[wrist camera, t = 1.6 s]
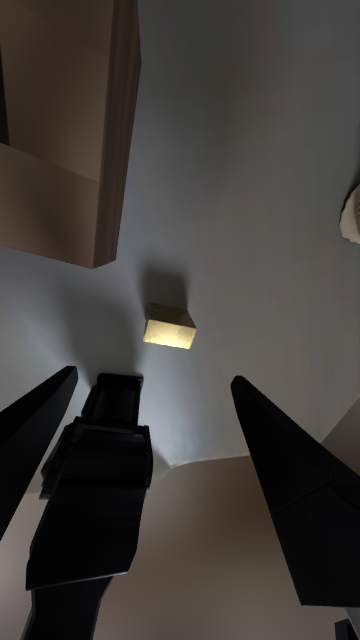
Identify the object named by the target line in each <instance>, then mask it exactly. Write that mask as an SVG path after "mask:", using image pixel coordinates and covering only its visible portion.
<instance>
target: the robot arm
mask: <svg viewBox="0 0 360 640" xmlns="http://www.w3.org/2000/svg"><path fill="white" fill-rule="evenodd" d="M143 381H144V379H143V378H142V377H133V376H124V375H114V374H104V373H100V374H99V375H98V377H97V384H96V385H94V386H92V388H91V391H90V393H89V395H88V397H87V400H86V402H85V404H84V407H83V409H82V411H81V417H79V416H76V417H75V419H74V421H73V423H70V424H69V425H66V426H65V427H64V430H63V432H62V434H61V436H60V438H59V440H58V442H57V443H56V445H55V447H54V448H53V450H52V452H51V454H50V455H49V457H48V459H47V460H46V462H45V464H44V465H43V468H42V470H41V475H42V478H43V483H42V486H41V487H43V489H42V491H41V494H40V497H39V499H49V500H48V502H47V505H46V507H45V510H44V512H43V515H42V518H41V520H40V522H39V525H38V528H37V530H36V532H35V535H34V537H33V540H32V542H31V546H30V558H29V560H28V563H27V568H26V591H29V590H31V594H32V607H31V610H30V613H29V616H28V619H27V622H26V625H25V628H24V630H23V633H22V636H21V639H20V640H92V639H93V635H94V630H95V625H96V621H97V616H98V611H99V607H100V603H101V599H102V597H103V596H104V594H105V592H106V590H107V588H108V586H109V584H110V583H111V581H112V579H113V577H114V576H115V575H120V574H125V573H127V572H128V570H129V568H130V565H131V563H132V561H133V558H134V556H135V553H136V550H137V543H138V535H139V527H140V520H141V513H142V508H143V503H144V498H145V496H146V495H147V493H148V490H149V487H150V484H151V479H152V472H153V453H152V446H151V439H150V432H149V426H146V425H144V426H140V425H138V415H139V404H140V393H141V389H142V385H143ZM77 382H78V372H77V367H76V366H66V367H64V368H63V369H61V370H60V371H59V372H57V373H56V374H54V375H53V376H51V377H50V378H49V379H47V380H46V381H44V382H43V383H41V384H40V385H38V386H37V387H36V388H34V389H33V390H31V391H30V392H28V393H27V394H25V395H24V396H23V397H21V398H20V399H18V400H17V401H15V402H14V403H13V404H11V405H10V406H8V407H7V408H5V409H4V410H2V411H1V412H0V541H1V539H2V537H3V535H4V533H5V531H6V529H7V527H8V525H9V523H10V521H11V519H12V517H13V515H14V513H15V511H16V509H17V507H18V505H19V503H20V501H21V499H22V497H23V495H24V493H25V492H26V490H27V488H28V486H29V484H30V482H31V480H32V478H33V476H34V474H35V472H36V470H37V468H38V466H39V464H40V462H41V460H42V458H43V456H44V454H45V452H46V450H47V448H48V446H49V444H50V442H51V440H52V438H53V436H54V434H55V432H56V431H57V429H58V427H59V425H60V423H61V421H62V419H63V417H64V415H65V412H66V410H67V408H68V405H69V402H70V400H71V397H72V395H73V392H74V389H75V387H76V384H77ZM231 391H232V396H233V400H234V404H235V409H236V412H237V416H238V419H239V422H240V425H241V428H242V431H243V434H244V437H245V440H246V443H247V446H248V449H249V452H250V455H251V458H252V461H253V463H254V466H255V469H256V472H257V475H258V478H259V481H260V484H261V487H262V490H263V493H264V496H265V499H266V502H267V505H268V508H269V511H270V514H271V517H272V520H273V524H274V527H275V529H276V532H277V535H278V538H279V541H280V544H281V547H282V550H283V553H284V556H285V559H286V562H287V565H288V568H289V571H290V574H291V577H292V580H293V583H294V586H295V589H296V592H297V595H298V598H299V601H300V603H301V605H302V606H316V607H343V608H344V610H345V612H346V614H347V616H348V618H347V619H345V620H342V621H338V622H336V623H335V634H336V640H360V476H359V475H358V474H357V473H355V472H354V471H353V470H352V469H350V468H349V467H348V466H347V465H345V464H344V463H343V462H342V461H340V460H339V459H338V458H337V457H335V456H334V455H333V454H331V453H330V452H329V451H328V450H327V449H325V448H324V447H323V446H322V445H321V444H319V443H318V442H317V441H316V440H315V439H314V438H312V437H311V436H310V435H309V434H308V433H307V432H306V431H304V430H303V429H302V428H301V427H300V426H299V425H298V424H296V423H295V422H294V421H293V420H292V419H291V418H290V417H289V416H287V415H286V414H285V413H284V412H283V411H282V410H281V409H279V408H278V407H277V406H276V405H275V404H274V403H273V402H271V401H270V400H269V399H268V398H267V397H266V396H265V395H264V394H262V393H261V392H260V391H259V390H258V389H257V388H256V387H254V386H253V385H252V384H251V383H250V382H249V381H248V380H247V379H245V378H244V377H243V376H238V375H237V376H235V377H234V379H233V381H232V383H231Z"/></svg>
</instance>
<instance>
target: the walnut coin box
mask: <svg viewBox="0 0 360 640" xmlns="http://www.w3.org/2000/svg"><path fill="white" fill-rule="evenodd" d="M140 68H141V54H140V39H139V24H138V9H137V0H0V245H2V246H6V247H10V248H14V249H18V250H21V251H25V252H29V253H33V254H37V255H40V256H44V257H48V258H52V259H56V260H60V261H63V262H67V263H71V264H75V265H79V266H83V267H86V268H90V269H94V268H97V267H99V266H102V265H104V264H107V263H110V262H112V261H115V260H116V252H117V244H118V237H119V229H120V221H121V214H122V206H123V198H124V191H125V183H126V175H127V168H128V160H129V152H130V145H131V137H132V129H133V122H134V114H135V106H136V99H137V91H138V83H139V76H140Z"/></svg>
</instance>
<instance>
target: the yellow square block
mask: <svg viewBox="0 0 360 640" xmlns="http://www.w3.org/2000/svg"><path fill="white" fill-rule="evenodd" d="M196 331H197V328H196V326H195V324H194V322H193V320H192V318H191V317H190V315H189V313H188V311H185V310H181V309H177V308H172V307H168V306H164V305H159V304H155V303H151V302H150V304H149V308H148V312H147V317H146V322H145V331H144V341H145V342H151V343H157V344H163V345H169V346H175V347H181V348H187V349H190V346H191V344H192V341H193V338H194V336H195V333H196Z"/></svg>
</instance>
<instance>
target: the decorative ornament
mask: <svg viewBox="0 0 360 640" xmlns="http://www.w3.org/2000/svg"><path fill="white" fill-rule="evenodd" d="M339 228H340V230H341V235H342V236H343V237H344V238H348V239H349V241H350V242H356V243H358V244H360V184H359V185H358V186H357V187H356V188H355V190H354V191H353V192H352V193H351V195H350V197H349V198H348V200H347V201H346V203H345V207H344V210H343V211H342V213H341V219H340V222H339Z"/></svg>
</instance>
